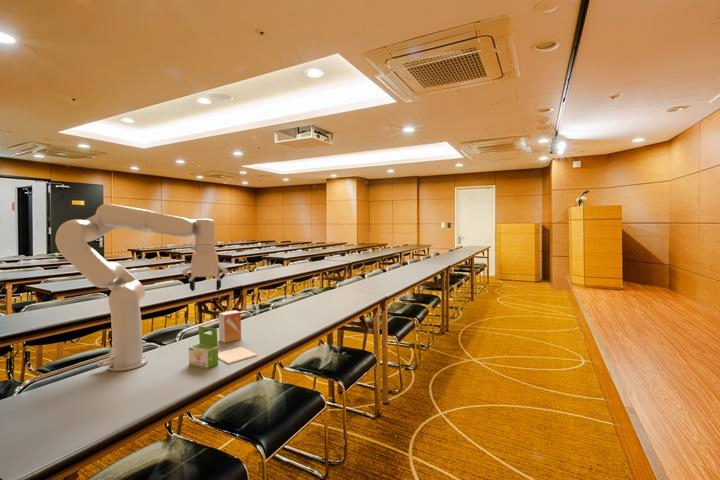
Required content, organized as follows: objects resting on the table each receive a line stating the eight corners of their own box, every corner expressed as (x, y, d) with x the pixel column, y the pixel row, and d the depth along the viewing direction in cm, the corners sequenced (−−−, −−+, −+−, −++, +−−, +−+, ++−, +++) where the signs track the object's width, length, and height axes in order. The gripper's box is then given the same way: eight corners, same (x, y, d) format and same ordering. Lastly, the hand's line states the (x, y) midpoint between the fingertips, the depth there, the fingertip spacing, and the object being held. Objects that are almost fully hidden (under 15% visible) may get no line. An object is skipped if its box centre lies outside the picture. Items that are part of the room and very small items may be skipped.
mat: (228, 364, 134) (228, 362, 134) (213, 355, 144) (213, 354, 144) (256, 355, 143) (256, 354, 143) (240, 348, 153) (240, 346, 152)
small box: (224, 343, 160) (223, 315, 159) (219, 340, 164) (218, 312, 164) (241, 339, 165) (240, 311, 165) (235, 336, 170) (235, 309, 170)
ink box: (188, 365, 134) (187, 329, 134) (199, 360, 139) (198, 325, 139) (207, 369, 130) (206, 332, 129) (219, 364, 135) (217, 328, 134)
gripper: (179, 249, 139) (180, 292, 139) (226, 249, 143) (226, 290, 143) (184, 248, 146) (185, 289, 146) (228, 248, 150) (229, 288, 150)
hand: (205, 290), depth 145 cm, fingers open, 9 cm apart
